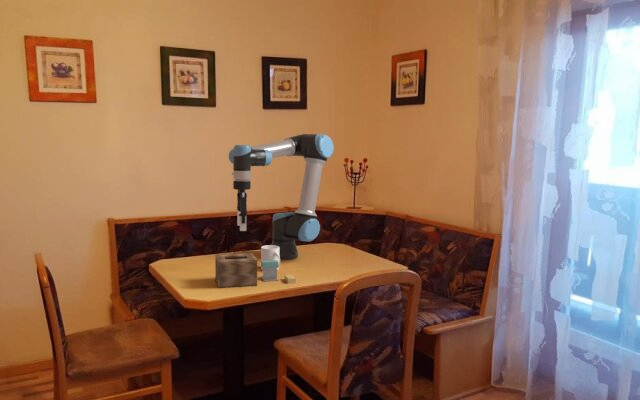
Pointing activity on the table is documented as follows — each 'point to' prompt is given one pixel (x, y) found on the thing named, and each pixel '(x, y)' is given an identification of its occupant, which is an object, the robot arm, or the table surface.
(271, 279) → the stand
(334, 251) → the table surface
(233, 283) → the coin box
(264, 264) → the teal rectangular block
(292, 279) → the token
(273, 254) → the white rounded piece
